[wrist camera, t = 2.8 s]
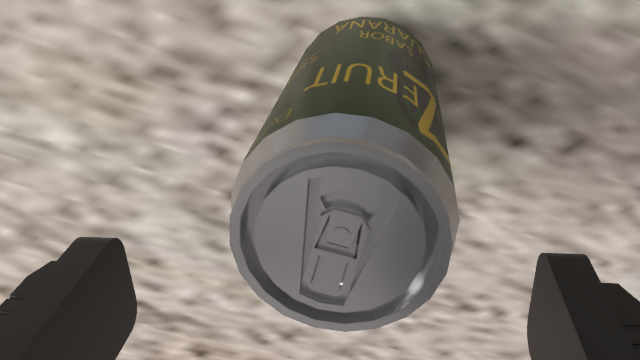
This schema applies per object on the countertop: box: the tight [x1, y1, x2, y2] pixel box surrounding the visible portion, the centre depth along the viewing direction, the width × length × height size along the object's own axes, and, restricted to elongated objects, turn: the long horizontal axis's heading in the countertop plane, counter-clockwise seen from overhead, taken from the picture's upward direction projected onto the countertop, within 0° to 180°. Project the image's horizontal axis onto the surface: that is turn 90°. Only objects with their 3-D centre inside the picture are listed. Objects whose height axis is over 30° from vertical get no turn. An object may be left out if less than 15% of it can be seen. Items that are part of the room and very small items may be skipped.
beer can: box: [230, 17, 460, 332], centre depth 18 cm, size 5×5×12 cm
